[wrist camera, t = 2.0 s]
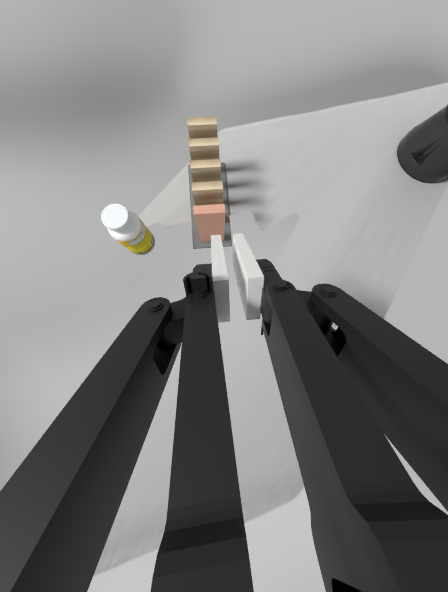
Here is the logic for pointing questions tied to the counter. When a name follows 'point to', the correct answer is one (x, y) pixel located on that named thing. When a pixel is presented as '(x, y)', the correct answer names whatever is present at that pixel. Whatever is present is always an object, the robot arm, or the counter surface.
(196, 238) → the mat
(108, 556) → the counter surface
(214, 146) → the domino
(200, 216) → the domino
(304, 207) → the counter surface
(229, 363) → the counter surface
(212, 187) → the domino
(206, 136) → the domino
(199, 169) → the domino
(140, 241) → the pill bottle
